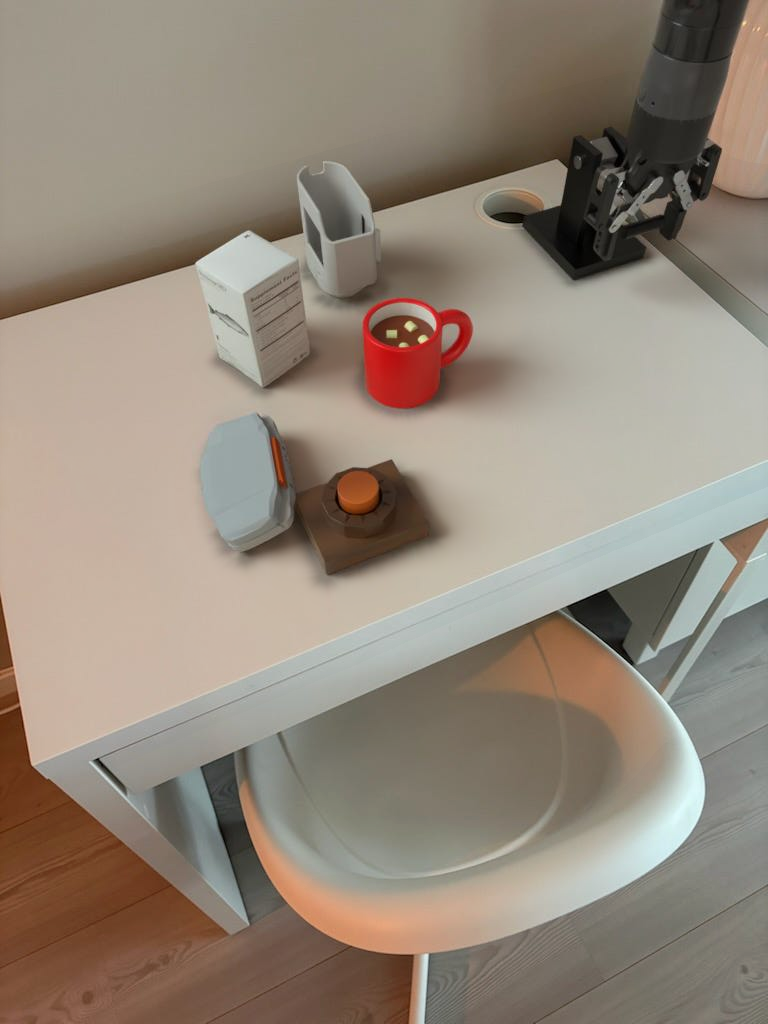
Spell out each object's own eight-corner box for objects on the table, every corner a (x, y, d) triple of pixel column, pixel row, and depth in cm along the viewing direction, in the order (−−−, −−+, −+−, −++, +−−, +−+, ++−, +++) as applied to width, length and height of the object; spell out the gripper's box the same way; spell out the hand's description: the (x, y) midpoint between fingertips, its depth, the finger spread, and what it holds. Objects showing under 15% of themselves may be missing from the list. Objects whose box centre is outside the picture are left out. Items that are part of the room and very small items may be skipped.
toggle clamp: (643, 257, 91) (674, 155, 81) (572, 280, 89) (595, 178, 78) (589, 206, 97) (611, 106, 87) (521, 226, 95) (536, 125, 85)
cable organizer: (333, 318, 86) (324, 225, 76) (299, 257, 93) (286, 164, 83) (387, 303, 87) (385, 209, 77) (349, 244, 94) (343, 151, 84)
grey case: (222, 562, 67) (304, 532, 66) (206, 547, 65) (290, 515, 64) (208, 444, 76) (280, 415, 75) (193, 426, 73) (268, 396, 72)
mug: (486, 378, 80) (494, 320, 73) (386, 418, 77) (385, 361, 70) (449, 334, 84) (453, 275, 77) (353, 370, 81) (348, 312, 74)
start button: (385, 506, 66) (385, 494, 64) (348, 520, 65) (346, 509, 64) (369, 477, 68) (368, 465, 66) (332, 490, 67) (331, 478, 65)
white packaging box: (218, 359, 82) (191, 260, 72) (268, 325, 85) (249, 226, 75) (262, 391, 79) (241, 293, 69) (313, 354, 82) (300, 256, 72)
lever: (659, 233, 83) (669, 218, 81) (621, 245, 82) (630, 230, 80) (609, 149, 86) (617, 133, 84) (571, 160, 85) (579, 143, 83)
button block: (428, 535, 68) (429, 509, 65) (326, 575, 66) (322, 551, 63) (392, 473, 72) (391, 446, 69) (295, 508, 70) (289, 482, 67)
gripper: (637, 132, 67) (599, 282, 80) (765, 97, 70) (708, 247, 84) (591, 96, 71) (562, 244, 84) (713, 64, 74) (667, 212, 88)
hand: (635, 246), depth 84 cm, fingers open, 8 cm apart
